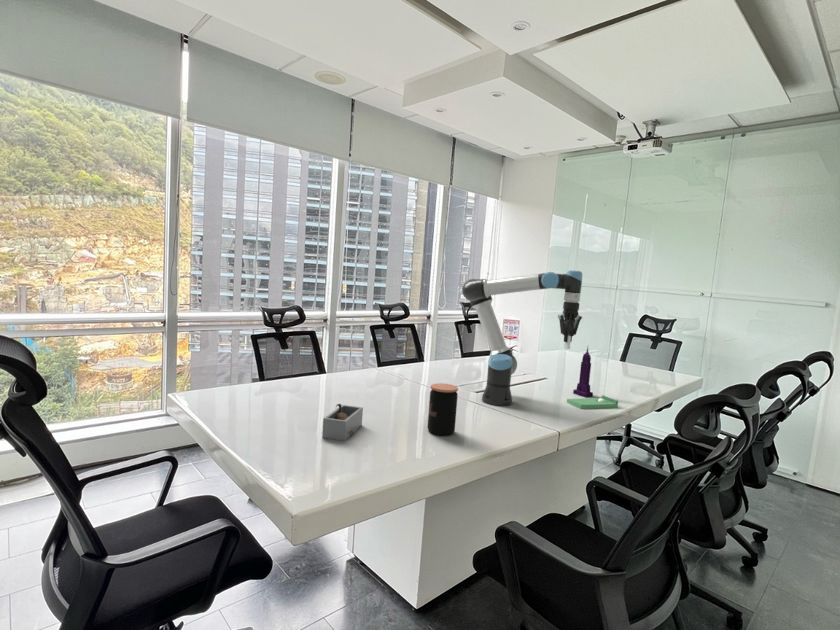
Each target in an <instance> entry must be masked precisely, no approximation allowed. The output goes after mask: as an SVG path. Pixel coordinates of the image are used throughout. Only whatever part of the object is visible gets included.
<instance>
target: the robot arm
mask: <svg viewBox="0 0 840 630" xmlns="http://www.w3.org/2000/svg"><path fill="white" fill-rule="evenodd" d="M582 283H583V272H582V271H580V270H567V271H566V273H563V274H562V273H556V272H553V271H549V272H542V273H537V274H535V273H534V274H529V275H520V276H511V277H504V278H496V279H487V278H482V279H481V278H478V279H477V278H471V279H468V280H466V281H465V282H464V283H463V286H462V288H461V289H462V290H461V292H462V296H464V298H465V299H466V300H467V301H469V302H470V303H469V304H470V306H471V308H472V309H474V310H476V314H477V316H478V319H479V322H480V325H481V328H482V331H483V334H484V337H485V339H486V342H487V344H488V347H489V349H490V354H489V357H488V362H487V363H488V364H487V365H488V367H487V376H486V386H485V389H484V391H483V393H482V396H481V401H482V402H483V403H485V404H488V405H492V406H499V407H500V406H501V407H503V406H504V407H505V406H507V407H508V406H511V405H512V404H513V396H512V392H511V391H512V390H511V383H512V382H511V381H512V380H511V379H512V375H513V374H514V373H515V372H516V370H517V368H518V361H517V358H516V357H515V356H514V355H513V352H512V350H511V347H508V346H507V345H506V341H505V338H504V336H503V333H502V331H501V328H500V326H499V322H498V319H497V317H496V313H495V311H494V309H493V306H492V302H493V298H492V296H495V295H496V296H497V295H504V294H512V293H522V292H529V291H536V290H537V291H538V290H548V289H555V290H559V289H560V290H564V296H563V305H562V306H563V307H562V309H563V311H562V313H561V314H558V315H557V318H558V319H559V328H560V334H561V335H562V336H563V342H564V344H563V345H564V346H563V349H565V350H570V349H571V343H572V340H573V337H574V336H576V334H577V331H578V329H579V325H580V322H581V320H582V318H583V317H582V315H579V310H580V303H579V302H580V301H581V291H582Z"/></svg>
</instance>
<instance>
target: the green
mask: <svg viewBox="0 0 840 630" xmlns="http://www.w3.org/2000/svg"><path fill="white" fill-rule="evenodd" d="M600 398H602V399H604V401H605V403H601V402H599V401H598V399H600ZM566 404H569V405H571V406H573V407H576V408H578V409H580V410H581V409H582V410H583V409H584V410H586V409H618V407H619V405H618V404H619V401H618V400H617V399H614V398H611V397H608V396H606V395H604V394H603V395H601V397H596V398H595V397H593V398H592V397H583V398H567V399H566Z"/></svg>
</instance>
